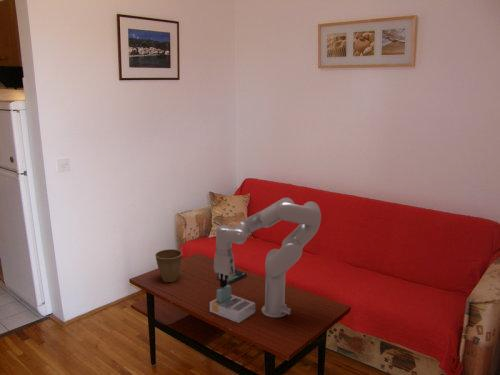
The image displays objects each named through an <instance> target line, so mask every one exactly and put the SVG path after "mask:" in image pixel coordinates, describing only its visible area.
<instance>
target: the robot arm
mask: <svg viewBox="0 0 500 375" xmlns="http://www.w3.org/2000/svg"><path fill="white" fill-rule="evenodd" d="M321 213H322V212H321V209H320V207H319V205H318V203H316V202H315V201H307V202H305V203H304V204H303V205H301V204H300V205H299V204H296V203H295V202H294V200H293V199H292V198H290V197H283V198H281V199H279V200H278V201H275V202H274V203H272V204H271V205H269V206H268V207H265V208H264V209H263V210H260V211H257V212H256V213H255V214H252V215H250V216H248V217H246V218H244V219H243V220H241V221H240V222H238V223H237V224H235V225H234V227H233V228H232V227H231V226H230V225H228V224H220V225H218V226H217V227H216V229H215V253H214V256H213V257H214V258H213V271H214V273H215V274H216V275H217V276H219V279H220V281H219V287H220V288H223V287H225V286H227V285H228V284H227V279H228V278H232V277H233V274H232V273H234V272H235V269H236V268H235V259H234V258H235V257H234V251H233V249H232V247H233V244H236V245H242V244H244V243H245V242H246V241H247V240H248V239H247V238H248V236H249V235H250V234H252V233H253V232H255V231H257V230H260V229H261V228H267V229H268V228H270V227H273V226H274V225H275V224H277V223H279V222H281V221H285V222H289V223H294V224H298V225H297V227H295V229H293V231H292V232H290V233H289V234H288V235H287V236H286V237H285V238H284V239H283V240H282V242H281V247H280V248H273V249H270V250H269V251H268V252H267V254H266V257H265V263H264V264H265V265H264V270H265V286H264V288H265V290H264V294H265V295H264V305H263V306H262V307H261V313H262V314H263V315H264V316H266V317H269V318H274V319H275V318H277V319H278V318H282V317H285V316H286V315H291V310H292V309H291V308H289V307H287V303H285V302H286V301H285V300H286V299H285V298H286V297H285V296H286V294H285V293H286V292H285V291H286V272H288V270H290V268H292V267H293V266H294V265H295V264H296V263H297V262H298V261H299V260H300V258H301V257H302V255H303V248H304V247H305V246H306V245H307V244H308V242H310V241H311V240H312V238H314V237H315V235H316V234H317V232H318V230H319V229H320V225H321V221H322V214H321Z"/></svg>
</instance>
